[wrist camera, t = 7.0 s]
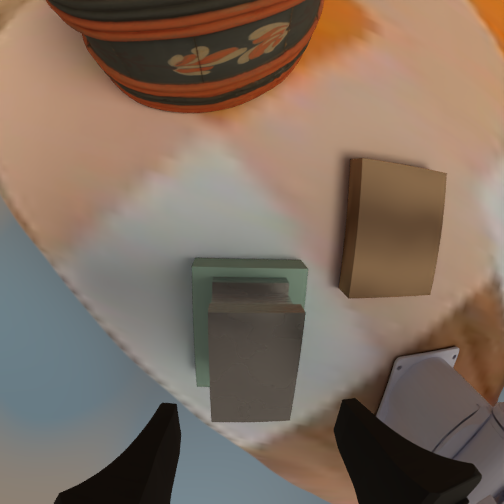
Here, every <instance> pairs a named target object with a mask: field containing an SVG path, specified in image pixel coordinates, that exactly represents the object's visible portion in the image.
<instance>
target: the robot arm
mask: <svg viewBox="0 0 504 504" xmlns="http://www.w3.org/2000/svg"><path fill="white" fill-rule="evenodd" d="M458 353H459V348H458V347H452V348H447V349H442V350H437V351H431V352H426V353H420V354H414V355H408V356H402V357H398V358H397V359H396V360H395V362H394V366H393V369H392V372H391V375H390V378H389V381H388V384H387V387H386V390H385V393H384V396H383V398H382V401H381V404H380V407H379V409H378V412H377V414H376V416H375V415H374V414H373V413H371V412H370V411H369V410H368V409H367V408H366V407H365V406H363V405H362V404H361V403H360V402H359V401H358V400H357V399H355V398H352V399H344V400H342V403H341V407H340V410H339V414H338V417H337V420H336V423H335V427H334V433H335V438H336V442H337V446H338V449H339V451H340V454H341V456H342V459H343V461H344V464H345V466H346V468H347V471H348V473H349V476H350V478H351V480H352V483H353V486H354V488H355V492H356V495H357V499H358V503H359V504H504V402H498V403H497V404H496V405H495V406H494V407H492V406H491V405H490V404H489V403H488V402H487V401H486V400H485V399H484V398H483V397H482V396H481V395H480V394H479V393H478V392H477V391H476V390H475V389H474V388H473V387H472V386H471V385H470V384H469V383H468V382H467V381H466V380H465V379H464V378H463V377H462V376H461V375H460V374H459V373H458V372H457V371H456V370H455V369H454V368H453V366H454V364H455V361H456V359H457V356H458ZM398 366H399V367H398ZM180 442H181V430H180V424H179V417H178V411H177V404H172V403H162V404H160V406H159V408H158V409H157V411H156V412H155V414H154V415H153V417H152V418H151V420H150V421H149V423H148V424H147V425H146V427H145V428H144V429H143V430H142V432H141V433H140V434H139V435H138V437H137V438H136V439H135V440H134V441H133V442H132V443H131V444H130V446H129V447H128V448H127V449H126V450H125V451H124V452H123V453H122V454H121V455H120V456H119V457H117V458H116V459H115V460H114V461H113V462H112V463H111V464H109V465H108V466H107V467H105V468H104V469H103V470H101V471H100V472H99V473H97V474H96V475H94V476H92V477H91V478H89V479H87V480H86V481H84V482H82V483H81V484H79V485H77V486H74V487H72V488H70V489H68V490H66V491H63V492H61V493H59V495H58V497H57V498H56V500H55V502H54V504H170V499H171V492H172V487H173V482H174V477H175V473H176V468H177V463H178V459H179V454H180Z"/></svg>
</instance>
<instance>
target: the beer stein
mask: <svg viewBox="0 0 504 504" xmlns="http://www.w3.org/2000/svg"><path fill="white" fill-rule="evenodd" d="M46 2H47V3H48V5H49V6H50V7H51V8H52V9H53V10H54V11H55V12H56V13H57V14H58V15H59V16H60V17H61V19H62V20H63V21H64V22H65V23H67V24H68V25H69V26H71V27H72V28H73V29H75V30H76V31H78V32H80V33H82V36H83V40H84V43H85V45H86V47H87V49H88V51H89V53H90V54H91V55H92V57H93V58H94V59H95V60H96V62H97V63H98V64H99V66H100V67H101V68H102V69H103V70H104V71H105V73H106V74H107V75H108V76H109V77H110V78H111V80H112V81H113V82H114V83H115V84H116V85H117V86H118V87H119V88H120V89H121V90H122V91H123V92H124V93H125V94H127V95H128V96H129V97H131V98H132V99H134V100H135V101H137V102H139V103H141V104H143V105H146V106H148V107H152V108H156V109H160V110H165V111H172V112H183V113H193V112H194V113H200V112H209V111H216V110H222V109H226V108H231V107H235V106H237V105H240V104H243V103H245V102H247V101H250V100H252V99H254V98H256V97H258V96H260V95H261V94H263V93H265V92H267V91H269V90H270V89H272V88H274V87H275V86H276V85H278V84H279V83H281V82H282V81H283V80H284V79H285V78H286V77H287V76H288V75H289V74H290V73H291V71H292V70H293V69H294V67H295V66H296V64H297V63H298V62H299V60H300V58H301V56H302V54H303V52H304V51H305V49H306V47H307V46H308V43H309V41H310V39H311V36H312V34H313V32H314V30H315V28H316V26H317V23H318V21H319V19H320V16H321V13H322V9H323V3H324V0H46Z"/></svg>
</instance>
